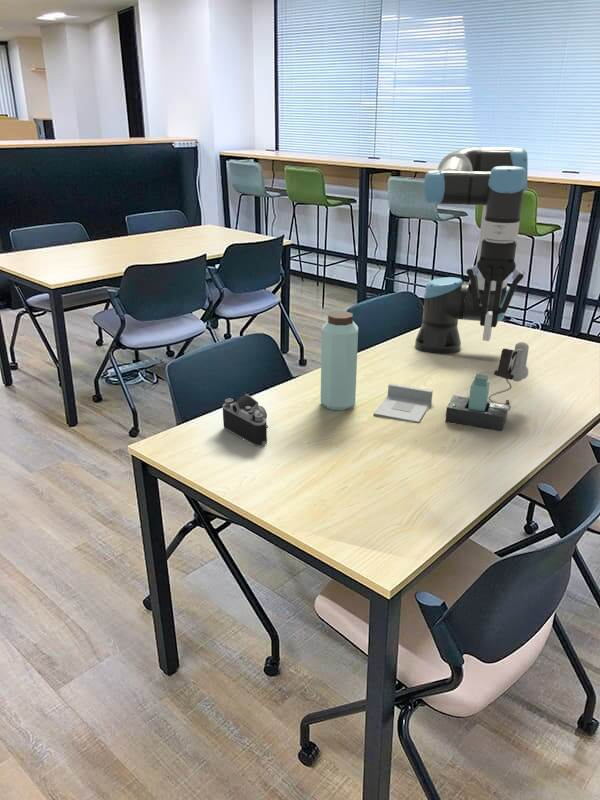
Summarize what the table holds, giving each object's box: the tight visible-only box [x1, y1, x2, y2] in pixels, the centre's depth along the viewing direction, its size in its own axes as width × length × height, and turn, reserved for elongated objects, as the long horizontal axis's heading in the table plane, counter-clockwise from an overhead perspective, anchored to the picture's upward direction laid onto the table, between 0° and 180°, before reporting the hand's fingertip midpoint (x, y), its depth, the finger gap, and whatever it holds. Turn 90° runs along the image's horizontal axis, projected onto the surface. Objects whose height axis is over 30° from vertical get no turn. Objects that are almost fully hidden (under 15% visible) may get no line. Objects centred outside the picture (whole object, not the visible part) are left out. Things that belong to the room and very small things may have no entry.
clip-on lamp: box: [488, 341, 530, 405], centre depth 165 cm, size 12×6×18 cm, turn 135°
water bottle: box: [320, 310, 359, 411], centre depth 166 cm, size 10×10×25 cm
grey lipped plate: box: [373, 383, 433, 424], centre depth 167 cm, size 14×12×4 cm
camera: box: [222, 393, 269, 447], centre depth 154 cm, size 16×8×10 cm, turn 42°
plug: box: [468, 373, 491, 412], centre depth 158 cm, size 4×4×12 cm
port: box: [444, 395, 512, 432], centre depth 160 cm, size 8×15×5 cm, turn 66°
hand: (486, 338), depth 152 cm, fingers closed
